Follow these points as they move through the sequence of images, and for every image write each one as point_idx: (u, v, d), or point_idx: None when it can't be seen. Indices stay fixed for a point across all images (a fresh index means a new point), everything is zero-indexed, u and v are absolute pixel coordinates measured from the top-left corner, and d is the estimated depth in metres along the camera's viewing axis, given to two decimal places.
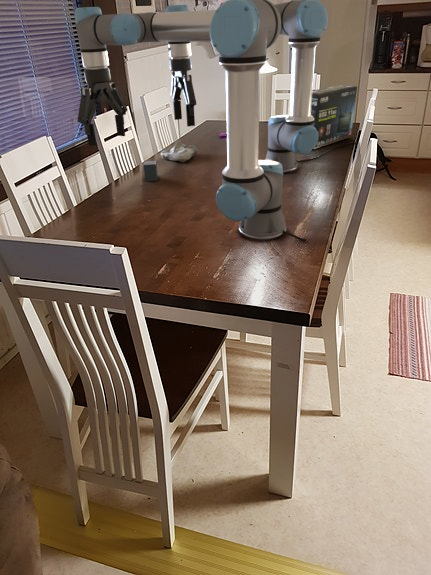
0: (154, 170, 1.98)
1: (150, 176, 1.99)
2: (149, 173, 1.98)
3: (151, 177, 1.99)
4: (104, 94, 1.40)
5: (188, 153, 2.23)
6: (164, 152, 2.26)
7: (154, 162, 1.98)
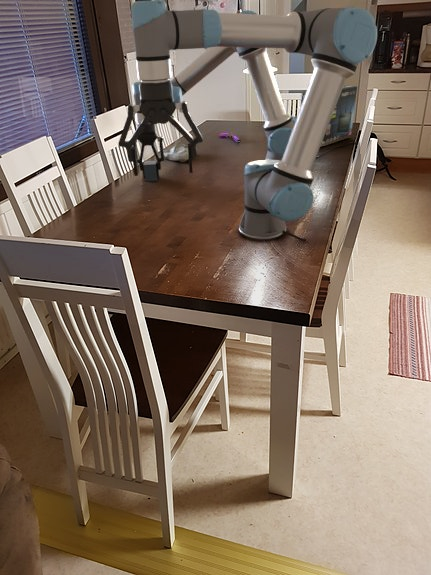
0: (154, 170, 1.98)
1: (150, 176, 1.99)
2: (149, 173, 1.98)
3: (151, 177, 1.99)
4: (161, 115, 1.07)
5: None
6: (164, 152, 2.26)
7: (154, 162, 1.98)
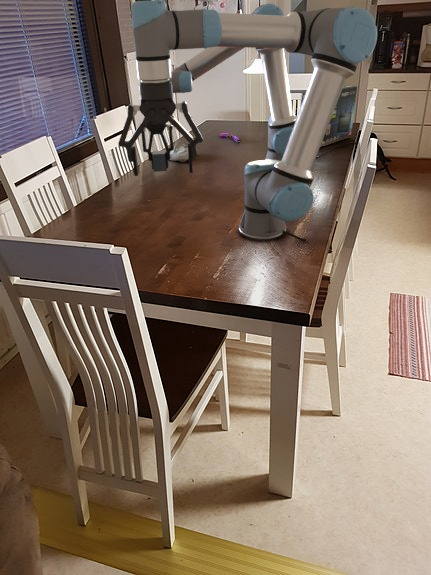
0: (163, 160, 1.90)
1: (159, 167, 1.91)
2: (157, 164, 1.91)
3: (160, 168, 1.92)
4: (161, 115, 1.07)
5: None
6: None
7: (163, 152, 1.91)
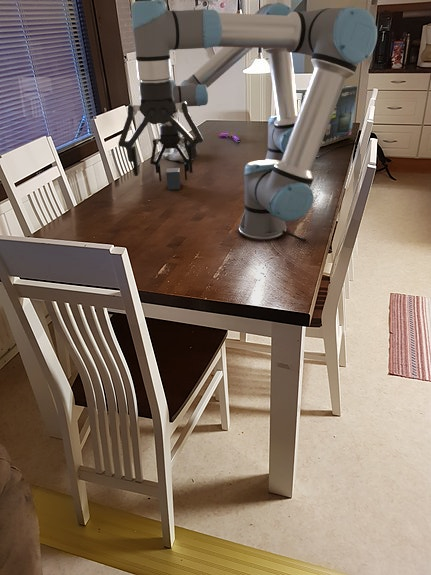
0: (177, 178, 1.87)
1: (173, 184, 1.88)
2: (171, 181, 1.88)
3: (174, 185, 1.89)
4: (161, 115, 1.07)
5: None
6: (164, 152, 2.26)
7: (177, 170, 1.88)
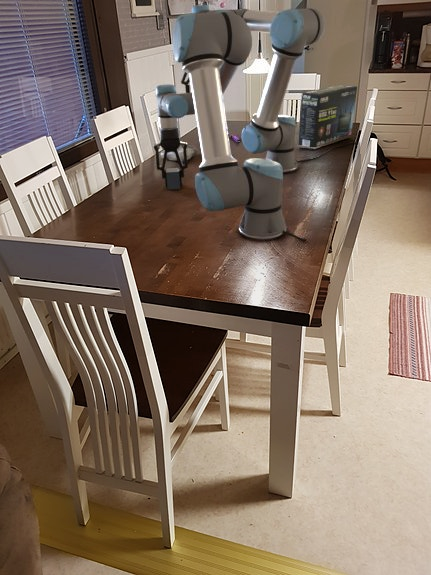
0: (177, 178, 1.87)
1: (173, 184, 1.88)
2: (171, 181, 1.88)
3: (174, 185, 1.89)
4: (172, 147, 1.82)
5: (188, 153, 2.23)
6: None
7: (177, 170, 1.88)
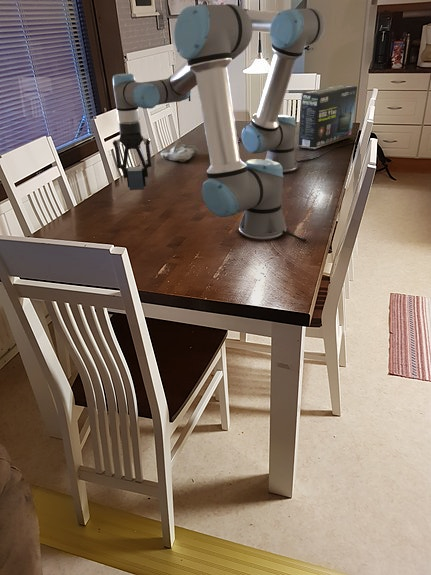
0: (140, 177, 1.70)
1: (136, 185, 1.71)
2: (134, 181, 1.71)
3: (137, 186, 1.72)
4: (133, 143, 1.65)
5: (188, 153, 2.23)
6: (164, 152, 2.26)
7: (140, 168, 1.71)
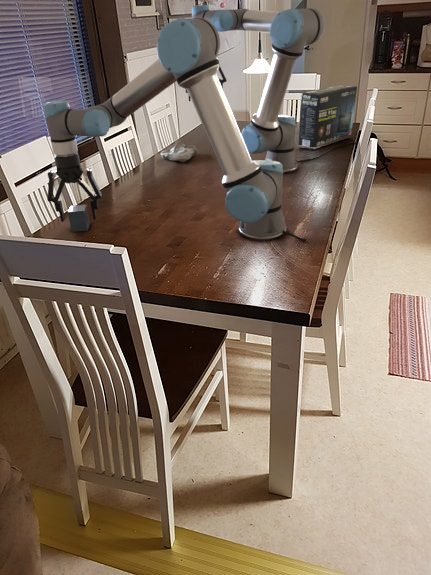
0: (82, 218, 1.53)
1: (78, 226, 1.55)
2: (75, 222, 1.54)
3: (80, 227, 1.55)
4: (72, 177, 1.48)
5: (188, 153, 2.23)
6: (164, 152, 2.26)
7: (83, 208, 1.54)
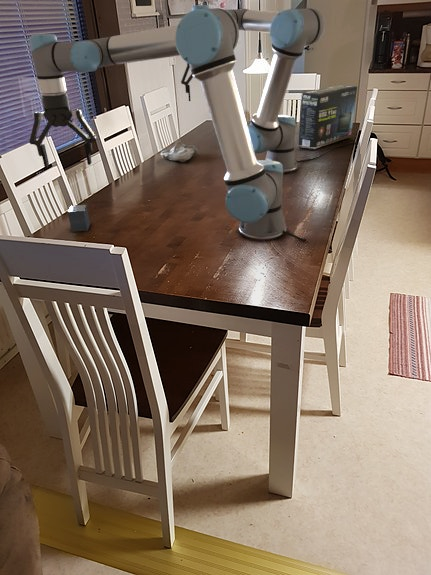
0: (82, 218, 1.53)
1: (78, 226, 1.55)
2: (75, 222, 1.54)
3: (80, 227, 1.55)
4: (60, 120, 1.39)
5: (188, 153, 2.23)
6: (164, 152, 2.26)
7: (83, 208, 1.54)
